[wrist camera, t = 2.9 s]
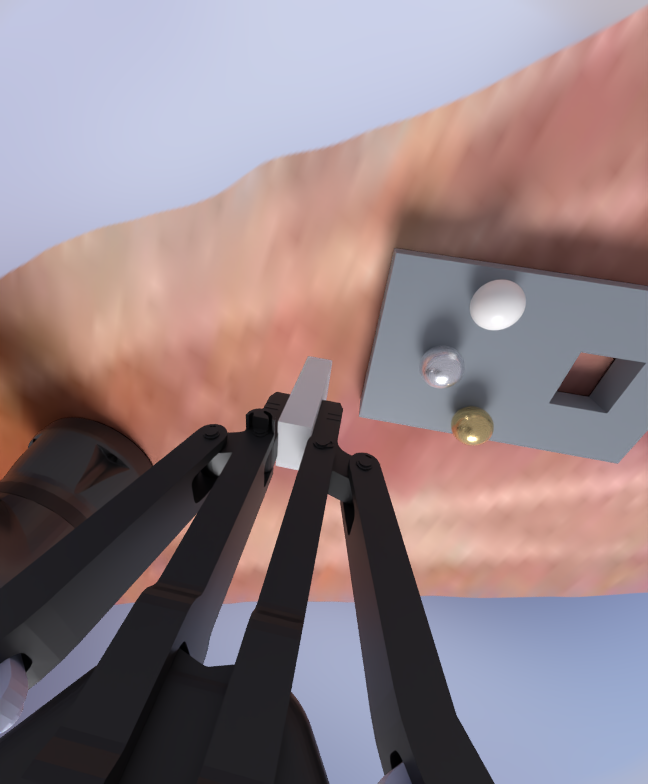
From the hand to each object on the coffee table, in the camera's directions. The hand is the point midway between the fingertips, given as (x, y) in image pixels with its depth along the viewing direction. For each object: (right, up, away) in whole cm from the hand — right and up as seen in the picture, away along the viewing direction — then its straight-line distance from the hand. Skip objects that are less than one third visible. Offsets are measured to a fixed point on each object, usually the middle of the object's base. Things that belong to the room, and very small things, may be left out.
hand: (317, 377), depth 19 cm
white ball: (+12, +5, +1) cm, 13 cm away
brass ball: (+13, -4, +6) cm, 14 cm away
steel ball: (+9, +1, +4) cm, 10 cm away
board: (+16, +2, +7) cm, 18 cm away
